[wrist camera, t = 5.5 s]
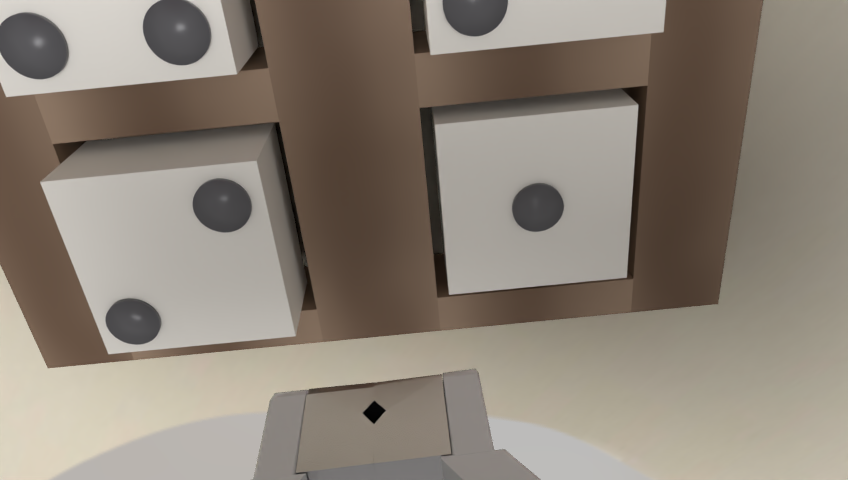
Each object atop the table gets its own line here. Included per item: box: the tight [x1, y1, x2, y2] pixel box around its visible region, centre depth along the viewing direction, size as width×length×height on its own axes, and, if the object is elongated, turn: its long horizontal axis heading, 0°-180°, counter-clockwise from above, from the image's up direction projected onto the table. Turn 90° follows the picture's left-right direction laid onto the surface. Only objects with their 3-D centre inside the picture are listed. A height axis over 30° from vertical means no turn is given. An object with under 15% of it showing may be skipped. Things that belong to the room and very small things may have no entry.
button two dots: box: [40, 123, 307, 354], centre depth 21 cm, size 6×6×3 cm
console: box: [0, 0, 763, 368], centre depth 21 cm, size 24×18×3 cm
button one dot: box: [431, 88, 638, 295], centre depth 22 cm, size 6×6×3 cm
